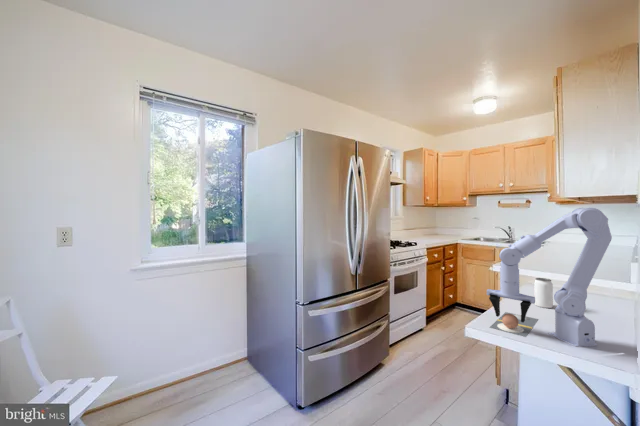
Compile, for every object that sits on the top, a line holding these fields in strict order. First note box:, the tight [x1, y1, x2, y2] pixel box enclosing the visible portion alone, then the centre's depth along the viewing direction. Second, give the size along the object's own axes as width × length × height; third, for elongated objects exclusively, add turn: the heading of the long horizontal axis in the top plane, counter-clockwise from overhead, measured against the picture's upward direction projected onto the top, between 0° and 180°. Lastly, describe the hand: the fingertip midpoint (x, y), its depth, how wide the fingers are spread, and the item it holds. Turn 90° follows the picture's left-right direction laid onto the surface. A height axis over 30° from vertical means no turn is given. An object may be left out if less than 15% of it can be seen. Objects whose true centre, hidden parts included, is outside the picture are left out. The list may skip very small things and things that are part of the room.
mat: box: [489, 311, 539, 338], centre depth 106 cm, size 22×11×1 cm, turn 133°
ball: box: [502, 313, 519, 328], centre depth 101 cm, size 5×5×5 cm
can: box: [533, 277, 554, 309], centre depth 125 cm, size 6×6×12 cm
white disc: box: [497, 323, 524, 334], centre depth 101 cm, size 8×8×1 cm
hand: (510, 318), depth 101 cm, fingers open, 7 cm apart
